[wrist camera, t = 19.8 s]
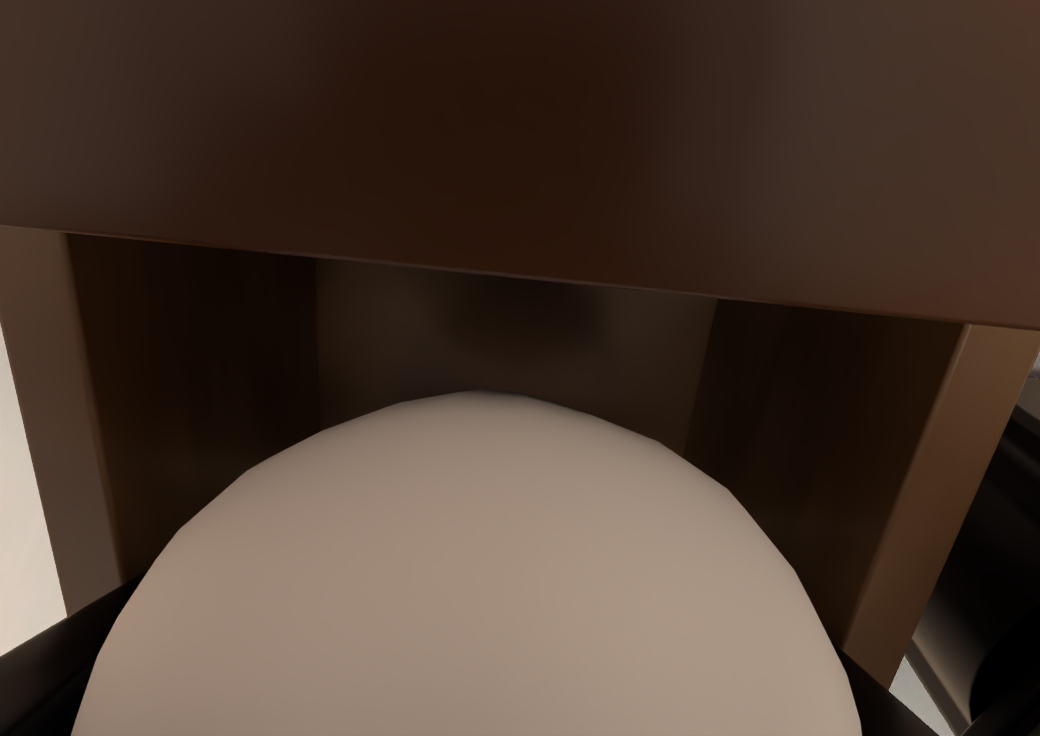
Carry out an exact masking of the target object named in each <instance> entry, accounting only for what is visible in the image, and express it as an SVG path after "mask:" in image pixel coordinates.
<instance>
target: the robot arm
mask: <svg viewBox="0 0 1040 736" xmlns="http://www.w3.org/2000/svg"><path fill="white" fill-rule="evenodd" d="M148 571H149V569H148V570H146V571H145V572H143V573H141V574H139V575H138V576H136V577H134V578H133V579H131V580H129V581H128V582H126V583H124V584H122V585H121V586H119V587H117V588H116V589H114V590H112V591H111V592H109V593H107V594H106V595H104V596H102V597H100V598H99V599H97V600H95V601H94V602H92V603H90V604H89V605H87V606H85V607H84V608H82V609H80V610H78V611H77V612H75V613H73V614H72V615H70V616H68V617H67V618H65V619H63V620H62V621H60V622H58V623H56V624H55V625H53V626H51V627H50V628H48V629H46V630H45V631H43V632H41V633H40V634H38V635H36V636H34V637H33V638H31V639H29V640H28V641H26V642H24V643H23V644H21V645H19V646H18V647H16V648H14V649H12V650H11V651H9V652H7V653H6V654H4V655H2V656H1V657H0V736H71V733H72V730H73V726H74V723H75V720H76V717H77V714H78V711H79V708H80V705H81V702H82V699H83V696H84V693H85V691H86V688H87V685H88V682H89V679H90V676H91V673H92V670H93V667H94V664H95V661H96V658H97V656H98V654H99V652H100V650H101V648H102V646H103V644H104V642H105V640H106V638H107V636H108V635H109V633H110V631H111V629H112V627H113V625H114V623H115V621H116V619H117V617H118V616H119V614H120V613H121V611H122V610H123V608H124V607H125V605H126V604H127V602H128V601H129V599H130V598H131V596H132V595H133V593H134V592H135V590H136V589H137V587H138V586H139V584H140V583H141V581H142V580H143V578H144V577H145V575H146V574H147V572H148ZM830 641H831V643H832V645H833V647H834V649H835V651H836V653H837V655H838V657H839V659H840V661H841V663H842V666H843V668H844V670H845V672H846V674H847V677H848V680H849V684H850V687H851V691H852V694H853V698H854V701H855V705H856V708H857V712H858V715H859V719H860V723H861V732H862V736H939V735H938V734H937V733H935V732H934V731H933V730H932V729H931V728H930V727H929V726H928V725H926V724H925V723H924V722H923V721H922V720H921V719H920V718H919V717H917V716H916V715H915V714H914V713H913V712H912V711H911V710H909V709H908V708H907V707H906V706H905V705H904V704H903V703H902V702H900V701H899V700H898V699H897V698H896V697H895V696H894V695H893V694H891V693H890V692H889V691H888V690H887V689H886V688H885V687H883V686H882V685H881V684H880V683H879V682H878V681H877V680H876V679H874V678H873V677H872V676H871V675H870V674H869V673H868V672H867V671H865V670H864V669H863V668H862V667H861V666H860V665H859V664H857V663H856V662H855V661H854V660H853V659H852V658H851V657H850V656H848V655H847V654H846V653H845V652H844V651H843V650H842V649H841V648H839V647H838V646H837V645H836V644H835V643H834V642H833V641H832V640H830ZM904 655H905V657H906V659H907V660H908V662H909V663H910V665H911V667H912V668H913V670H914V671H915V673H916V674H917V676H918V678H919V679H920V681H921V682H922V684H923V685H924V687H925V689H926V690H927V692H928V693H929V695H930V697H931V698H932V700H933V701H934V703H935V704H936V706H937V708H938V709H939V711H940V712H941V714H942V716H943V717H944V719H945V720H946V722H947V723H948V725H949V727H950V728H951V730H952V731H953V733H954V734H955V736H1040V378H1031V377H1028V378H1027V380H1026V382H1025V384H1024V387H1023V389H1022V391H1021V393H1020V396H1019V398H1018V400H1017V402H1016V405H1015V407H1014V409H1013V411H1012V414H1011V416H1010V418H1009V420H1008V423H1007V425H1006V427H1005V429H1004V432H1003V434H1002V436H1001V438H1000V441H999V443H998V445H997V447H996V450H995V452H994V454H993V456H992V459H991V461H990V463H989V465H988V468H987V470H986V472H985V474H984V477H983V479H982V481H981V483H980V486H979V488H978V490H977V492H976V495H975V497H974V499H973V501H972V504H971V506H970V508H969V510H968V512H967V515H966V517H965V519H964V521H963V524H962V526H961V528H960V530H959V533H958V535H957V537H956V539H955V542H954V544H953V546H952V548H951V551H950V553H949V555H948V557H947V560H946V562H945V564H944V566H943V569H942V571H941V573H940V575H939V578H938V580H937V582H936V584H935V587H934V589H933V591H932V593H931V596H930V598H929V600H928V602H927V605H926V607H925V609H924V611H923V614H922V616H921V618H920V620H919V623H918V625H917V627H916V629H915V632H914V634H913V636H912V638H911V641H910V643H909V645H908V647H907V650H906V652H905V654H904Z"/></svg>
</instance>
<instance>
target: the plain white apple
mask: <svg viewBox="0 0 1040 736" xmlns="http://www.w3.org/2000/svg"><path fill="white" fill-rule="evenodd" d="M71 736H862V732H861V723H860V719H859V715H858V712H857V708H856V705H855V701H854V698H853V694H852V691H851V687H850V684H849V680H848V677H847V674H846V672H845V670H844V668H843V666H842V663H841V661H840V659H839V657H838V655H837V653H836V651H835V649H834V647H833V645H832V643H831V641H830V639H829V637H828V635H827V633H826V631H825V629H824V627H823V625H822V623H821V621H820V619H819V617H818V615H817V613H816V611H815V609H814V607H813V605H812V603H811V601H810V599H809V597H808V595H807V593H806V591H805V590H804V588H803V586H802V584H801V582H800V580H799V578H798V576H797V574H796V572H795V570H794V569H793V568H792V567H791V565H790V564H789V563H788V562H787V560H786V559H785V558H784V557H783V555H782V554H781V553H780V552H779V550H778V549H777V548H776V547H775V546H774V544H773V543H772V542H771V541H770V539H769V538H768V537H767V536H766V534H765V533H764V532H763V531H762V529H761V528H760V527H759V526H758V524H757V523H756V522H755V521H754V520H753V518H752V517H751V516H750V515H749V513H748V512H747V511H746V510H745V508H744V507H743V506H742V505H741V504H740V503H739V502H738V500H737V499H736V498H735V497H734V496H733V495H732V494H731V492H730V491H729V490H728V489H727V488H725V487H724V486H722V485H721V484H720V483H718V482H717V481H715V480H714V479H712V478H711V477H709V476H708V475H706V474H705V473H704V472H702V471H701V470H699V469H698V468H696V467H695V466H693V465H692V464H690V463H689V462H687V461H686V460H685V459H683V458H682V457H680V456H679V455H677V454H676V453H674V452H673V451H671V450H670V449H668V448H667V447H666V446H664V445H663V444H661V443H660V442H658V441H656V440H653V439H651V438H648V437H646V436H643V435H640V434H638V433H635V432H633V431H630V430H628V429H625V428H623V427H620V426H618V425H615V424H613V423H610V422H608V421H605V420H603V419H600V418H598V417H595V416H593V415H590V414H587V413H584V412H580V411H576V410H574V409H571V408H569V407H566V406H564V405H561V404H558V403H554V402H551V401H547V400H544V399H540V398H537V397H533V396H530V395H526V394H523V393H517V392H506V391H496V390H485V389H476V390H470V391H462V392H456V393H450V394H445V395H439V396H433V397H428V398H422V399H416V400H411V401H405V402H400V403H397V404H394V405H391V406H388V407H385V408H382V409H380V410H377V411H374V412H372V413H369V414H366V415H363V416H361V417H358V418H355V419H353V420H350V421H347V422H344V423H342V424H339V425H336V426H333V427H331V428H328V429H325V430H323V431H321V432H319V433H317V434H315V435H313V436H311V437H309V438H307V439H305V440H303V441H301V442H299V443H297V444H295V445H293V446H291V447H289V448H287V449H285V450H283V451H282V452H280V453H278V454H276V455H274V456H272V457H270V458H268V459H266V460H265V461H263V462H261V463H259V464H258V465H256V466H254V467H253V468H251V469H249V470H247V471H246V472H245V473H244V474H242V475H241V476H240V477H239V478H238V479H237V480H235V481H234V482H233V483H232V484H231V485H230V486H229V487H227V488H226V489H225V490H224V491H223V492H222V493H220V494H219V495H218V496H217V497H216V498H215V499H214V500H212V501H211V502H210V503H209V504H208V505H207V506H206V507H204V508H203V509H202V510H201V511H200V512H199V513H198V514H196V515H195V516H194V517H193V518H192V519H191V520H190V521H188V522H187V523H186V524H185V525H184V526H183V527H182V528H180V529H179V530H178V532H177V533H176V534H175V535H174V537H173V538H172V539H171V541H170V542H169V543H168V544H167V546H166V547H165V548H164V550H163V551H162V552H161V553H160V555H159V556H158V557H157V559H156V560H155V562H154V563H153V565H152V566H151V568H150V569H149V571H148V572H147V574H146V575H145V577H144V578H143V580H142V581H141V583H140V584H139V586H138V587H137V589H136V590H135V592H134V593H133V595H132V596H131V598H130V599H129V601H128V602H127V604H126V605H125V607H124V608H123V610H122V611H121V613H120V614H119V616H118V617H117V619H116V621H115V623H114V625H113V627H112V629H111V631H110V633H109V635H108V636H107V638H106V640H105V642H104V644H103V646H102V648H101V650H100V652H99V654H98V656H97V658H96V661H95V664H94V667H93V670H92V673H91V676H90V679H89V682H88V685H87V688H86V691H85V693H84V696H83V699H82V702H81V705H80V708H79V711H78V714H77V717H76V720H75V723H74V726H73V730H72V733H71Z"/></svg>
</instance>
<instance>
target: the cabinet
mask: <svg viewBox="0 0 1040 736" xmlns="http://www.w3.org/2000/svg"><path fill="white" fill-rule="evenodd" d="M0 226H5V227H15V228H25V229H35V230H44V231H54V232H64V233H74V234H84V235H94V236H104V237H114V238H123V239H133V240H143V241H153V242H163V243H173V244H183V245H193V246H202V247H212V248H222V249H232V250H242V251H252V252H262V253H272V254H282V255H291V256H301V257H311V258H321V259H331V260H341V261H351V262H361V263H370V264H380V265H390V266H400V267H410V268H420V269H430V270H440V271H449V272H459V273H469V274H479V275H489V276H499V277H509V278H519V279H528V280H538V281H548V282H558V283H568V284H578V285H588V286H598V287H608V288H617V289H627V290H637V291H647V292H657V293H667V294H677V295H687V296H696V297H706V298H716V299H726V300H736V301H746V302H756V303H766V304H775V305H785V306H795V307H805V308H815V309H825V310H835V311H845V312H855V313H864V314H874V315H884V316H894V317H904V318H914V319H924V320H934V321H943V322H953V323H963V324H973V325H983V326H993V327H1003V328H1013V329H1022V330H1032V331H1040V0H0Z"/></svg>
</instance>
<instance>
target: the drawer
mask: <svg viewBox="0 0 1040 736" xmlns="http://www.w3.org/2000/svg"><path fill="white" fill-rule="evenodd" d="M0 323H1V327H2V332H3V336H4V340H5V345H6V349H7V354H8V358H9V362H10V367H11V371H12V375H13V380H14V384H15V389H16V393H17V397H18V402H19V406H20V411H21V415H22V419H23V424H24V428H25V432H26V437H27V441H28V446H29V450H30V454H31V459H32V463H33V468H34V472H35V476H36V481H37V485H38V490H39V494H40V498H41V503H42V507H43V511H44V516H45V520H46V525H47V529H48V533H49V538H50V542H51V547H52V551H53V555H54V560H55V564H56V568H57V573H58V577H59V582H60V586H61V590H62V595H63V599H64V604H65V608H66V612H67V617H68V616H70V615H72V614H73V613H75V612H77V611H78V610H80V609H82V608H84V607H85V606H87V605H89V604H90V603H92V602H94V601H95V600H97V599H99V598H100V597H102V596H104V595H106V594H107V593H109V592H111V591H112V590H114V589H116V588H117V587H119V586H121V585H122V584H124V583H126V582H128V581H129V580H131V579H133V578H134V577H136V576H138V575H139V574H141V573H143V572H145V571H146V570H148V569H150V568H151V566H152V565H153V563H154V562H155V560H156V559H157V557H158V556H159V555H160V553H161V552H162V551H163V550H164V548H165V547H166V546H167V544H168V543H169V542H170V541H171V539H172V538H173V537H174V535H175V534H176V533H177V532H178V530H179V529H180V528H182V527H183V526H184V525H185V524H186V523H187V522H188V521H190V520H191V519H192V518H193V517H194V516H195V515H196V514H198V513H199V512H200V511H201V510H202V509H203V508H204V507H206V506H207V505H208V504H209V503H210V502H211V501H212V500H214V499H215V498H216V497H217V496H218V495H219V494H220V493H222V492H223V491H224V490H225V489H226V488H227V487H229V486H230V485H231V484H232V483H233V482H234V481H235V480H237V479H238V478H239V477H240V476H241V475H242V474H244V473H245V472H246V471H247V470H249V469H251V468H253V467H254V466H256V465H258V464H259V463H261V462H263V461H265V460H266V459H268V458H270V457H272V456H274V455H276V454H278V453H280V452H282V451H283V450H285V449H287V448H289V447H291V446H293V445H295V444H297V443H299V442H301V441H303V440H305V439H307V438H309V437H311V436H313V435H315V434H317V433H319V432H321V431H323V430H325V429H328V428H331V427H333V426H336V425H339V424H342V423H344V422H347V421H350V420H353V419H355V418H358V417H361V416H363V415H366V414H369V413H372V412H374V411H377V410H380V409H382V408H385V407H388V406H391V405H394V404H397V403H400V402H405V401H411V400H416V399H422V398H428V397H433V396H439V395H445V394H450V393H456V392H462V391H470V390H476V389H485V390H496V391H506V392H517V393H523V394H526V395H530V396H533V397H537V398H540V399H544V400H547V401H551V402H554V403H558V404H561V405H564V406H566V407H569V408H571V409H574V410H576V411H580V412H584V413H587V414H590V415H593V416H595V417H598V418H600V419H603V420H605V421H608V422H610V423H613V424H615V425H618V426H620V427H623V428H625V429H628V430H630V431H633V432H635V433H638V434H640V435H643V436H646V437H648V438H651V439H653V440H656V441H658V442H660V443H661V444H663V445H664V446H666V447H667V448H668V449H670V450H671V451H673V452H674V453H676V454H677V455H679V456H680V457H682V458H683V459H685V460H686V461H687V462H689V463H690V464H692V465H693V466H695V467H696V468H698V469H699V470H701V471H702V472H704V473H705V474H706V475H708V476H709V477H711V478H712V479H714V480H715V481H717V482H718V483H720V484H721V485H722V486H724V487H725V488H727V489H728V490H729V491H730V492H731V494H732V495H733V496H734V497H735V498H736V499H737V500H738V502H739V503H740V504H741V505H742V506H743V507H744V508H745V510H746V511H747V512H748V513H749V515H750V516H751V517H752V518H753V520H754V521H755V522H756V523H757V524H758V526H759V527H760V528H761V529H762V531H763V532H764V533H765V534H766V536H767V537H768V538H769V539H770V541H771V542H772V543H773V544H774V546H775V547H776V548H777V549H778V550H779V552H780V553H781V554H782V555H783V557H784V558H785V559H786V560H787V562H788V563H789V564H790V565H791V567H792V568H793V569H794V570H795V572H796V574H797V576H798V578H799V580H800V582H801V584H802V586H803V588H804V590H805V591H806V593H807V595H808V597H809V599H810V601H811V603H812V605H813V607H814V609H815V611H816V613H817V615H818V617H819V619H820V621H821V623H822V625H823V627H824V629H825V631H826V633H827V635H828V637H829V639H830V640H832V641H833V642H834V643H835V644H836V645H837V646H838V647H839V648H841V649H842V650H843V651H844V652H845V653H846V654H847V655H848V656H850V657H851V658H852V659H853V660H854V661H855V662H856V663H857V664H859V665H860V666H861V667H862V668H863V669H864V670H865V671H867V672H868V673H869V674H870V675H871V676H872V677H873V678H874V679H876V680H877V681H878V682H879V683H880V684H881V685H882V686H883V687H885V688H886V689H887V690H889V688H890V686H891V683H892V681H893V679H894V677H895V674H896V672H897V670H898V668H899V665H900V663H901V661H902V659H903V656H904V654H905V652H906V650H907V647H908V645H909V643H910V641H911V638H912V636H913V634H914V632H915V629H916V627H917V625H918V623H919V620H920V618H921V616H922V614H923V611H924V609H925V607H926V605H927V602H928V600H929V598H930V596H931V593H932V591H933V589H934V587H935V584H936V582H937V580H938V578H939V575H940V573H941V571H942V569H943V566H944V564H945V562H946V560H947V557H948V555H949V553H950V551H951V548H952V546H953V544H954V542H955V539H956V537H957V535H958V533H959V530H960V528H961V526H962V524H963V521H964V519H965V517H966V515H967V512H968V510H969V508H970V506H971V504H972V501H973V499H974V497H975V495H976V492H977V490H978V488H979V486H980V483H981V481H982V479H983V477H984V474H985V472H986V470H987V468H988V465H989V463H990V461H991V459H992V456H993V454H994V452H995V450H996V447H997V445H998V443H999V441H1000V438H1001V436H1002V434H1003V432H1004V429H1005V427H1006V425H1007V423H1008V420H1009V418H1010V416H1011V414H1012V411H1013V409H1014V407H1015V405H1016V402H1017V400H1018V398H1019V396H1020V393H1021V391H1022V389H1023V387H1024V384H1025V382H1026V380H1027V378H1028V375H1029V373H1030V371H1031V369H1032V366H1033V364H1034V362H1035V360H1036V357H1037V355H1038V353H1039V351H1040V331H1032V330H1022V329H1013V328H1003V327H993V326H983V325H973V324H963V323H953V322H943V321H934V320H924V319H914V318H904V317H894V316H884V315H874V314H864V313H855V312H845V311H835V310H825V309H815V308H805V307H795V306H785V305H775V304H766V303H756V302H746V301H736V300H726V299H716V298H706V297H696V296H687V295H677V294H667V293H657V292H647V291H637V290H627V289H617V288H608V287H598V286H588V285H578V284H568V283H558V282H548V281H538V280H528V279H519V278H509V277H499V276H489V275H479V274H469V273H459V272H449V271H440V270H430V269H420V268H410V267H400V266H390V265H380V264H370V263H361V262H351V261H341V260H331V259H321V258H311V257H301V256H291V255H282V254H272V253H262V252H252V251H242V250H232V249H222V248H212V247H202V246H193V245H183V244H173V243H163V242H153V241H143V240H133V239H123V238H114V237H104V236H94V235H84V234H74V233H64V232H54V231H44V230H35V229H25V228H15V227H5V226H0Z"/></svg>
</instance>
